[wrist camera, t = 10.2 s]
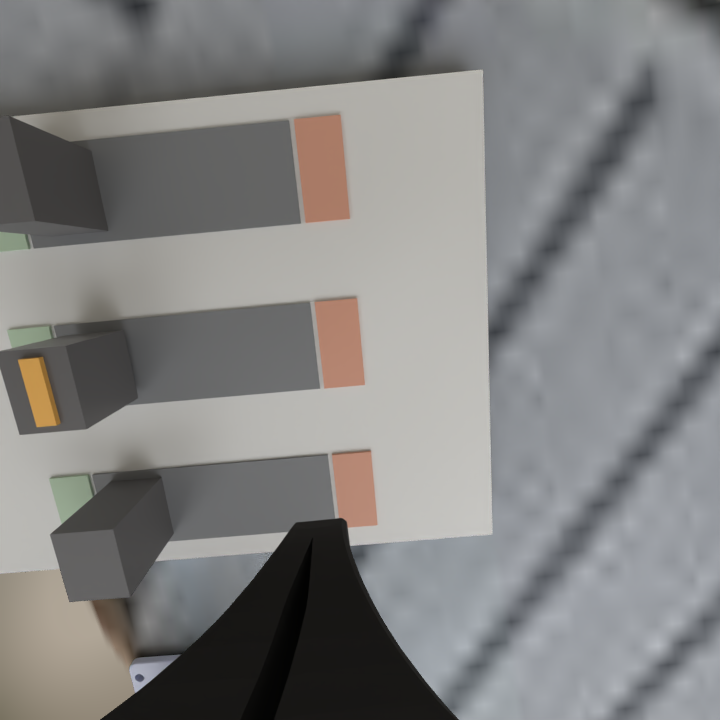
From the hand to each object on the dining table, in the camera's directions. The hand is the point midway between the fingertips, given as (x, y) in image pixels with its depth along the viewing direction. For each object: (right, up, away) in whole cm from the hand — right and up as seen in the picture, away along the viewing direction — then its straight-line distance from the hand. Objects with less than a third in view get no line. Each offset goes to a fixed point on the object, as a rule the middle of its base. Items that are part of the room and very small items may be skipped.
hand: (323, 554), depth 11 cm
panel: (-6, +5, +9) cm, 12 cm away
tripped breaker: (-10, +5, +7) cm, 13 cm away
